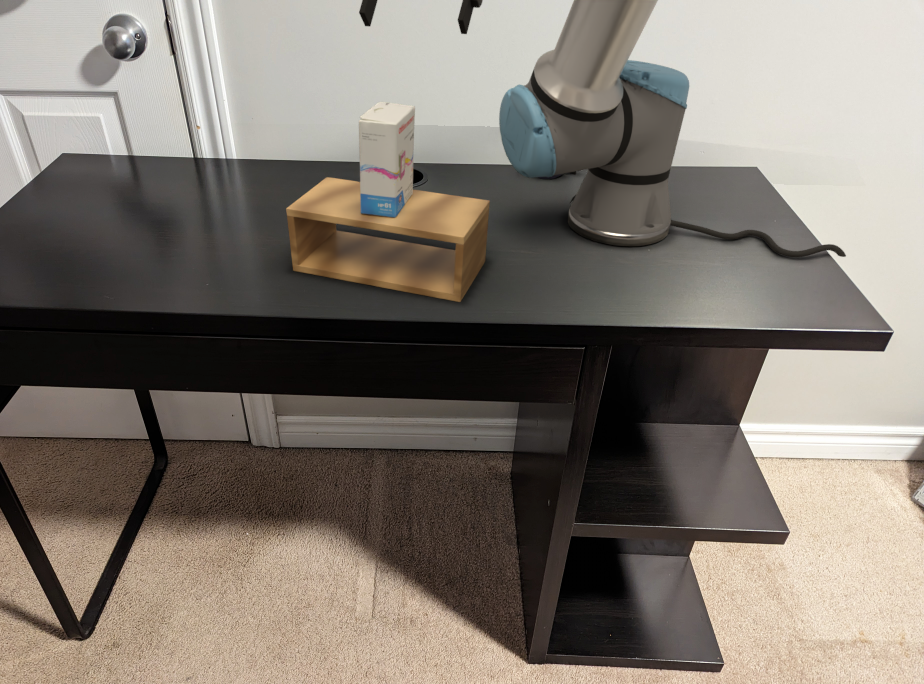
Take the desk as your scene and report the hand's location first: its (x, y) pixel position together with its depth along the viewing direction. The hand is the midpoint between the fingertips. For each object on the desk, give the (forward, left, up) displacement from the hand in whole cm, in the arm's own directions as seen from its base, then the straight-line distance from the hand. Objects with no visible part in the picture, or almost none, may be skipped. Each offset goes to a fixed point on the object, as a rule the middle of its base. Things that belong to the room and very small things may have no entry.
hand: (412, 23), depth 89 cm
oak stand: (-2, +14, -28) cm, 31 cm away
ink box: (-2, +15, -19) cm, 24 cm away
